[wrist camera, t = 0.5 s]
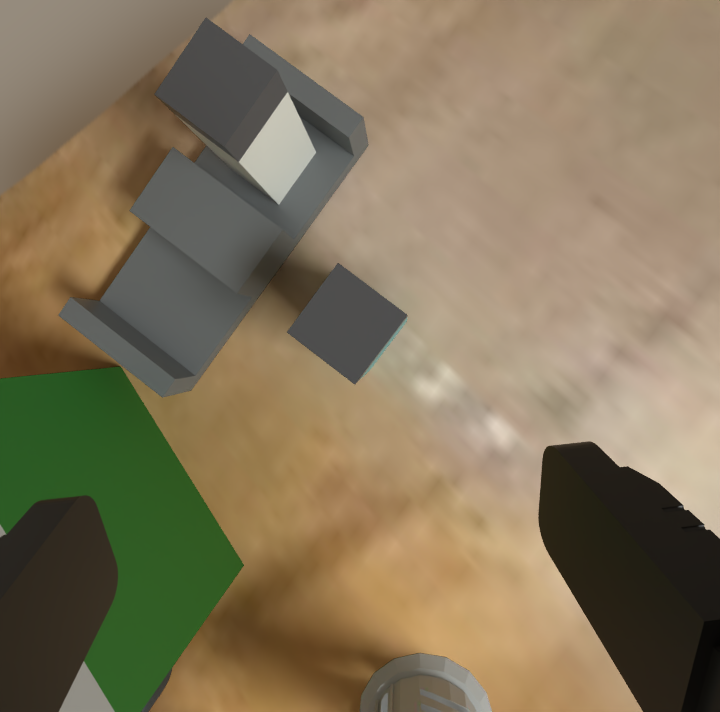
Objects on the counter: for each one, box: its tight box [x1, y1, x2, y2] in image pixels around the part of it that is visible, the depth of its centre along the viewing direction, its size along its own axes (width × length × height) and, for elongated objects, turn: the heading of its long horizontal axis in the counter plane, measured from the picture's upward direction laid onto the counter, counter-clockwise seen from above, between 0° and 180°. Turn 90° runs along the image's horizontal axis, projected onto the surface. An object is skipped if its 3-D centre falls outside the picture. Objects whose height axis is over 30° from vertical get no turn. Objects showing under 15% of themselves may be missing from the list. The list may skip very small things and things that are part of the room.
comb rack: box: [59, 34, 368, 397], centre depth 32 cm, size 22×9×4 cm, turn 143°
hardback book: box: [0, 367, 244, 712], centre depth 24 cm, size 18×7×24 cm, turn 33°
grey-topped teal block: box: [287, 263, 408, 384], centre depth 29 cm, size 4×4×10 cm
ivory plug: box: [155, 18, 316, 205], centre depth 28 cm, size 4×4×10 cm
